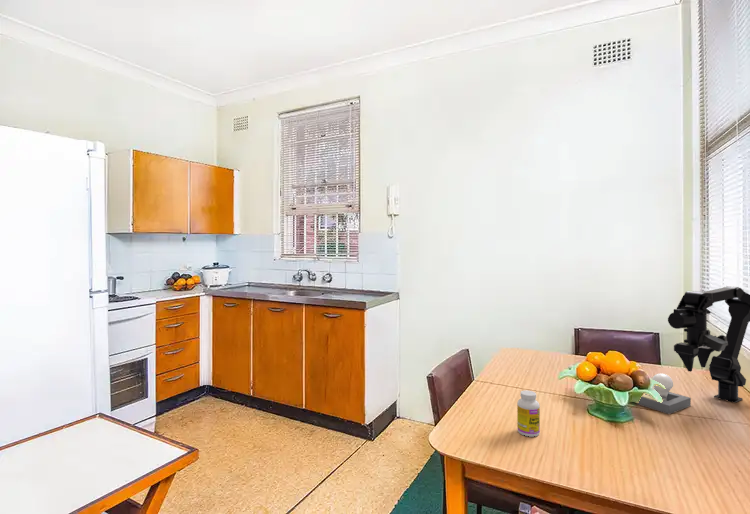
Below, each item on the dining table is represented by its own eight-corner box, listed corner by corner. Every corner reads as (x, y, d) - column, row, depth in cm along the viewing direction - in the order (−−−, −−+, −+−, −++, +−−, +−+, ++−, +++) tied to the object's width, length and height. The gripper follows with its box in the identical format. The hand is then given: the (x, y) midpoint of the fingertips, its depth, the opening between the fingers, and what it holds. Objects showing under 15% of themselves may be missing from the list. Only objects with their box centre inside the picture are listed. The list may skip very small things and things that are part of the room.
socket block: (652, 394, 160) (652, 386, 160) (690, 406, 149) (690, 396, 148) (630, 401, 154) (630, 393, 153) (669, 414, 142) (669, 404, 142)
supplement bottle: (529, 439, 126) (528, 398, 126) (512, 431, 132) (512, 391, 132) (544, 434, 129) (544, 394, 129) (527, 426, 135) (527, 387, 135)
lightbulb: (676, 407, 148) (676, 376, 147) (657, 406, 149) (656, 376, 149) (668, 400, 154) (667, 371, 154) (649, 399, 155) (648, 370, 155)
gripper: (709, 333, 137) (709, 379, 138) (736, 327, 146) (736, 370, 146) (672, 327, 147) (672, 371, 148) (700, 322, 156) (700, 363, 156)
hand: (696, 369), depth 149 cm, fingers open, 9 cm apart
